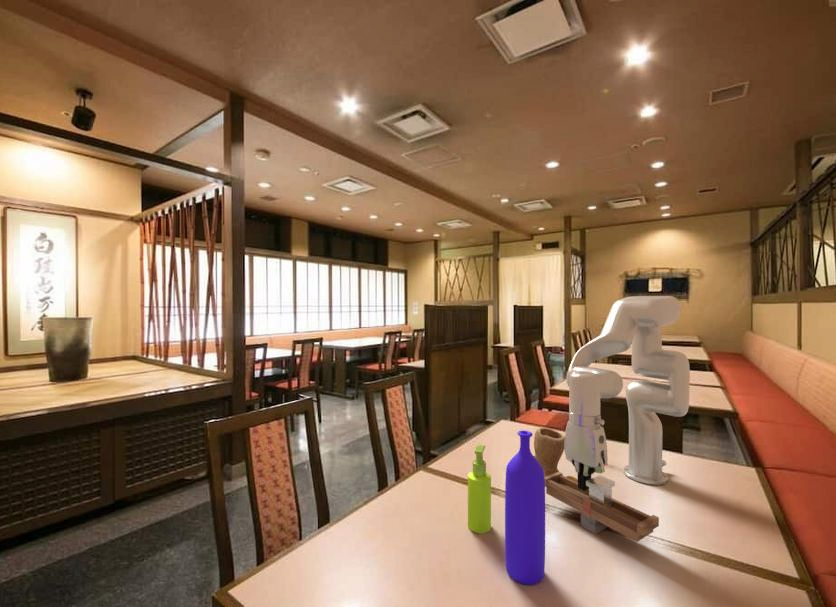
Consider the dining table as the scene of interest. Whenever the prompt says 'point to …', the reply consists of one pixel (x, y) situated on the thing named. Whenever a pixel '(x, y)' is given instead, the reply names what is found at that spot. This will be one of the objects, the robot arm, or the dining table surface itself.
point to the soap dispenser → (479, 495)
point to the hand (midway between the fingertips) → (584, 488)
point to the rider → (601, 490)
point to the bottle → (525, 516)
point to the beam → (600, 510)
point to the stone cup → (548, 449)
